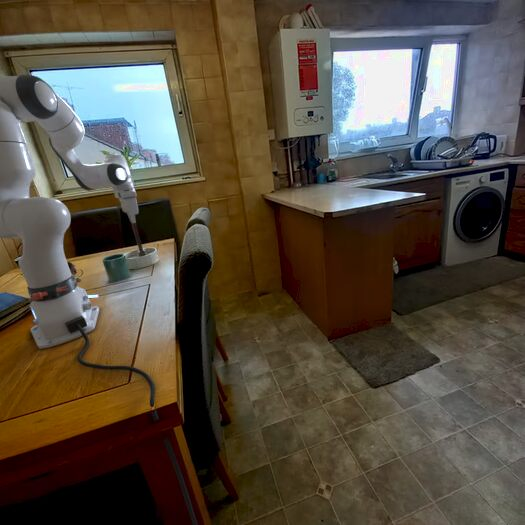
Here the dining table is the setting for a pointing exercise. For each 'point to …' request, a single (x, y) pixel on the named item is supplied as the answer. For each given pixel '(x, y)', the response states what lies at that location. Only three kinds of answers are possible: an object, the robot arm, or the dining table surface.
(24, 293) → the dining table surface
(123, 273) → the utensil pot
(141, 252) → the stirring stick
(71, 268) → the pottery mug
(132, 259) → the bowl
